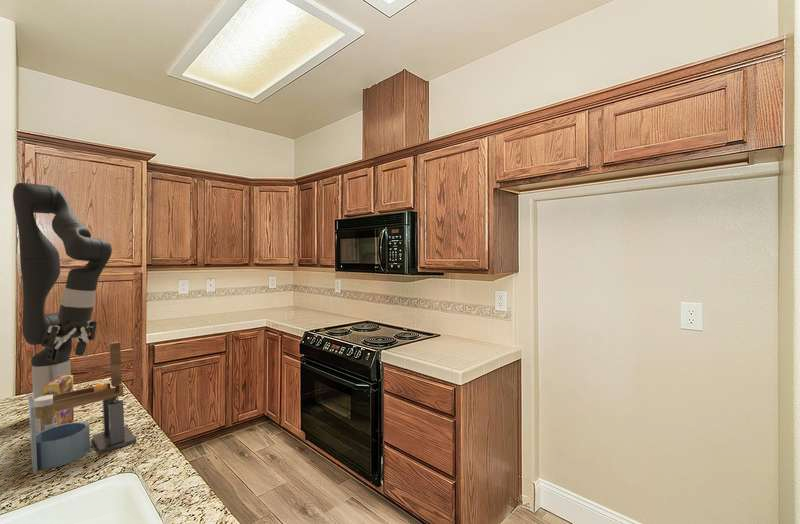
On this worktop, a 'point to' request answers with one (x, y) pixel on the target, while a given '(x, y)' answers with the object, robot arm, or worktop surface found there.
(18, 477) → the worktop surface
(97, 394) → the lever
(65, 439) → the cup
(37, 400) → the sprinkles bottle
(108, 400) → the lever stand
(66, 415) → the candy box
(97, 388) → the ball
